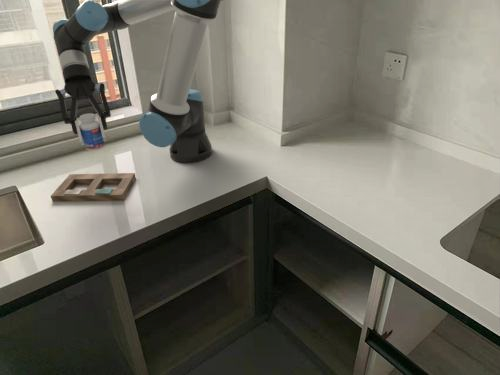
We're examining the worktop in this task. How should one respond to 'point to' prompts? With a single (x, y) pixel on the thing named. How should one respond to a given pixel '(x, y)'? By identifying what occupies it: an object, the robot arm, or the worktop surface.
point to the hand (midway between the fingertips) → (93, 141)
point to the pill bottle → (91, 132)
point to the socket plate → (94, 187)
